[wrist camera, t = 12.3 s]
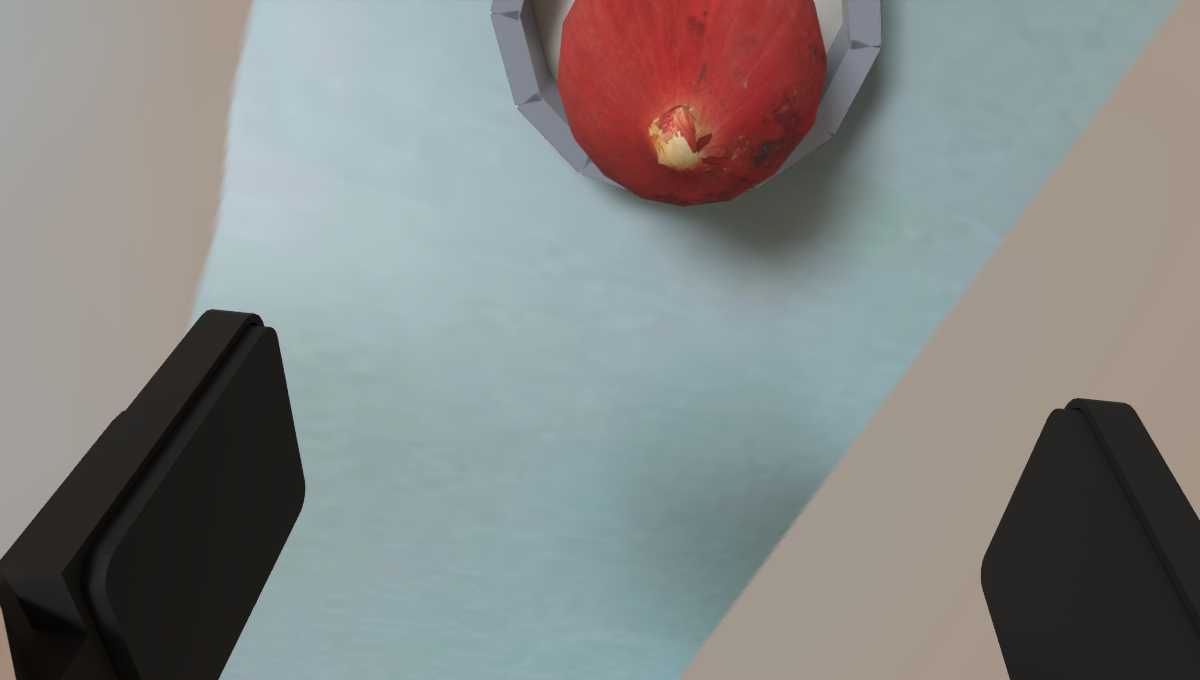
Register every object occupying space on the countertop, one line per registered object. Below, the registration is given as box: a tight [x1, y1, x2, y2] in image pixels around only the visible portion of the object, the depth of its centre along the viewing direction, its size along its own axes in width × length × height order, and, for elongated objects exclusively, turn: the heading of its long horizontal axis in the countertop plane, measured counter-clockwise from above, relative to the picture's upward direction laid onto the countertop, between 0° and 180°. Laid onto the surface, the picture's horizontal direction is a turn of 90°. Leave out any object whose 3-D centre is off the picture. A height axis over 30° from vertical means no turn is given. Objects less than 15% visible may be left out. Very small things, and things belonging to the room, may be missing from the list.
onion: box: [557, 0, 827, 206], centre depth 20 cm, size 6×6×8 cm
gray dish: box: [490, 0, 881, 192], centre depth 22 cm, size 9×9×2 cm
